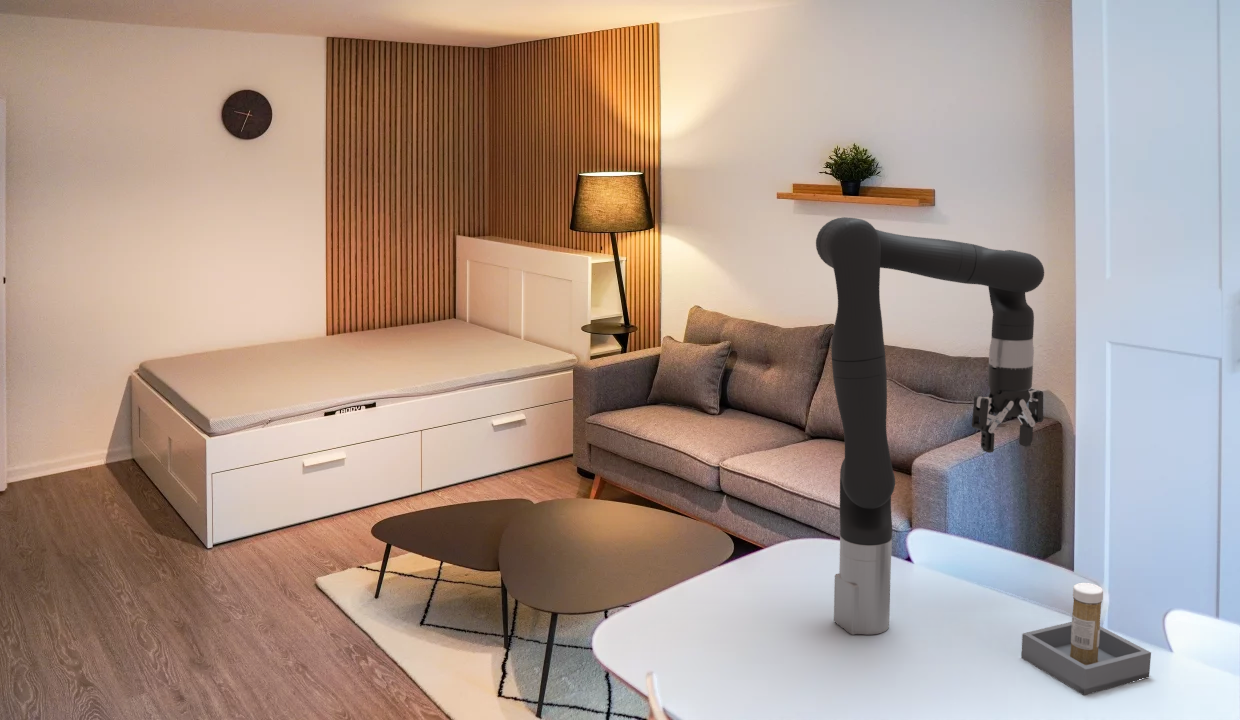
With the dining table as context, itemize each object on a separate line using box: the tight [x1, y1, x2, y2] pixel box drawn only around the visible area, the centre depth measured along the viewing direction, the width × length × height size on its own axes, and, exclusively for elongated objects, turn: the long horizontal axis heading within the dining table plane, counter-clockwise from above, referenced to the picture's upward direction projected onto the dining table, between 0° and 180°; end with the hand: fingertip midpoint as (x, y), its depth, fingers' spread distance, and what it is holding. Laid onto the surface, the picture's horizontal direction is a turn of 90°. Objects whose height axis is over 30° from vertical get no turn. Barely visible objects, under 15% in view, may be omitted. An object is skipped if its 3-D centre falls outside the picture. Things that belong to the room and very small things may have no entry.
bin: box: [1020, 621, 1152, 696], centre depth 177 cm, size 14×14×4 cm
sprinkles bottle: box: [1070, 582, 1104, 665], centre depth 176 cm, size 5×5×13 cm
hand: (1006, 448), depth 193 cm, fingers open, 8 cm apart
